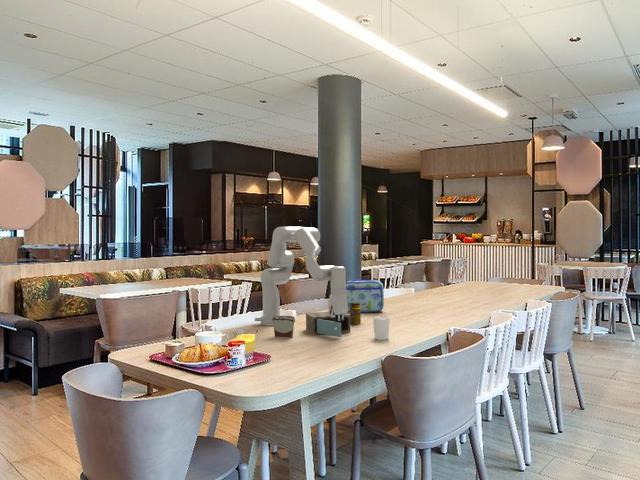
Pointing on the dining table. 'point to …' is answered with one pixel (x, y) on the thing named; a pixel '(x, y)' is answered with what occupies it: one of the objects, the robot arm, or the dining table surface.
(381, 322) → the white cup
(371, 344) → the dining table surface
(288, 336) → the food container
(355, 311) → the condiment
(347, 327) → the bread box
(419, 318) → the dining table surface
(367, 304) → the lunch box
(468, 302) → the dining table surface
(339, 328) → the door
